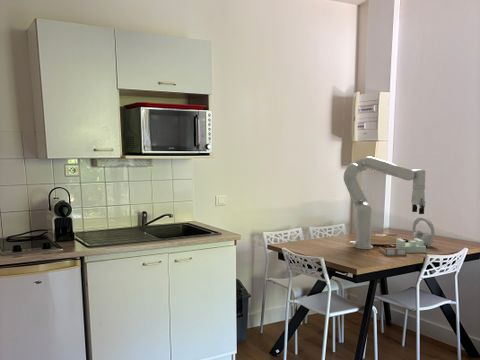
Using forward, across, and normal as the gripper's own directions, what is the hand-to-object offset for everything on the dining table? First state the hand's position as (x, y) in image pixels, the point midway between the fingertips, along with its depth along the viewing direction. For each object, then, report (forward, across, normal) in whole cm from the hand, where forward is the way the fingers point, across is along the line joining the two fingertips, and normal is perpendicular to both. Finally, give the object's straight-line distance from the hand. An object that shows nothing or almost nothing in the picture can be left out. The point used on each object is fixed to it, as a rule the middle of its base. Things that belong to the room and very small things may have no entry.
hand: (418, 212), depth 261 cm
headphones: (+26, -13, +11) cm, 31 cm away
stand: (+25, +1, -5) cm, 26 cm away
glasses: (+26, +8, -20) cm, 34 cm away
